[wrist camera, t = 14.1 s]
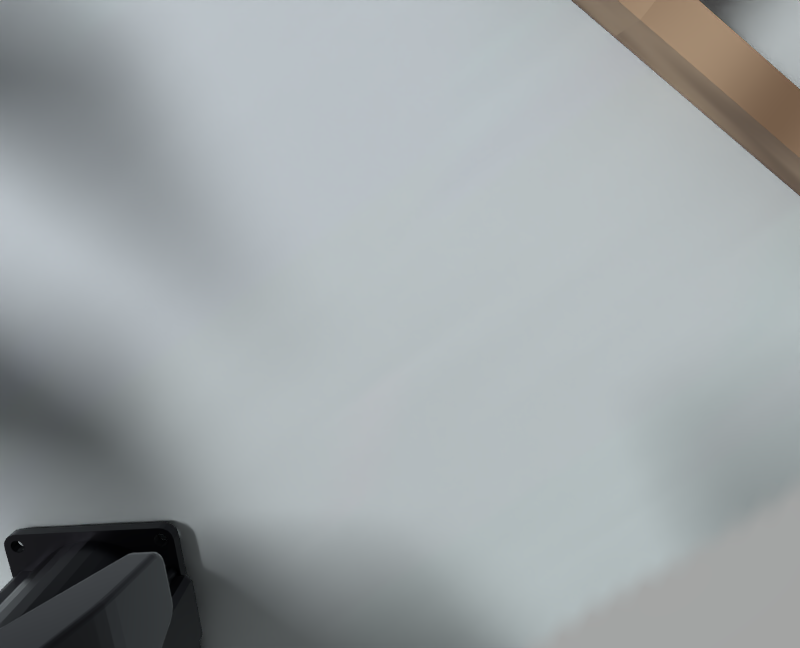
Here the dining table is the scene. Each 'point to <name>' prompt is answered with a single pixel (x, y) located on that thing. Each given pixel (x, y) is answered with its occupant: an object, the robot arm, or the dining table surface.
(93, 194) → the dining table surface
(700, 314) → the dining table surface
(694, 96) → the caddy
